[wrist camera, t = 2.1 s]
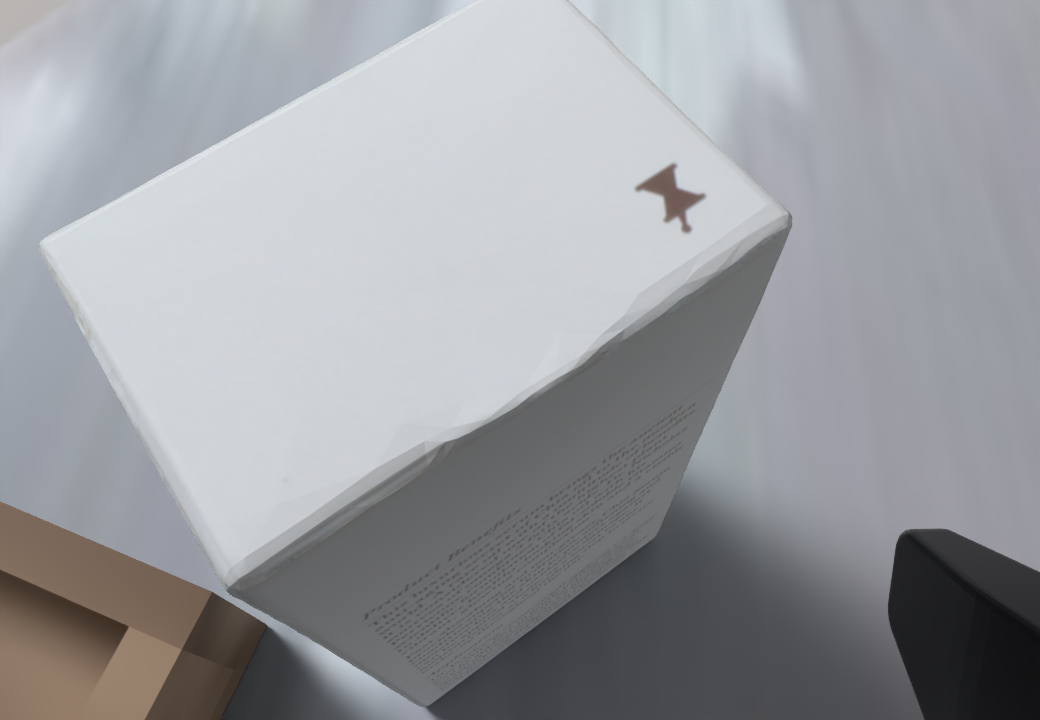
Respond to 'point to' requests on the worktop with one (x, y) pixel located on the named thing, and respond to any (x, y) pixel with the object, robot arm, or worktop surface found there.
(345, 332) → the skincare box
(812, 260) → the worktop surface
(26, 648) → the walnut holder
